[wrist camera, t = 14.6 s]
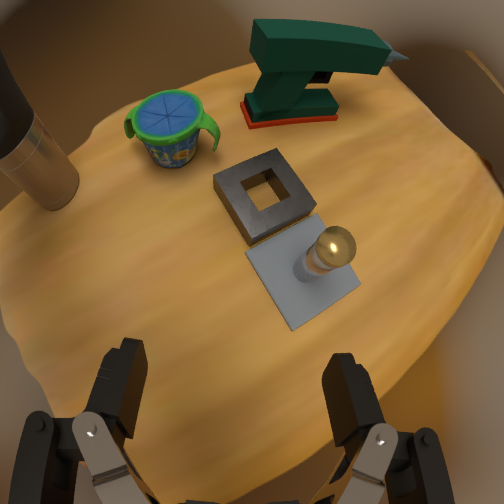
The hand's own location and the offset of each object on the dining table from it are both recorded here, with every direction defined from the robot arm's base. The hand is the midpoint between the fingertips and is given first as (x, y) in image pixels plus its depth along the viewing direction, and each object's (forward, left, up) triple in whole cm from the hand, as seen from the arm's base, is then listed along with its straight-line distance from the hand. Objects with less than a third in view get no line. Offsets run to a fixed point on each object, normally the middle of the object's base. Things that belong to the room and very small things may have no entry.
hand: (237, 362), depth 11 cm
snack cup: (-30, +7, -28) cm, 42 cm away
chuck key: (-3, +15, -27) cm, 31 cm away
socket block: (-15, +15, -27) cm, 35 cm away
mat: (-3, +15, -27) cm, 31 cm away
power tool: (-28, +37, -28) cm, 54 cm away
